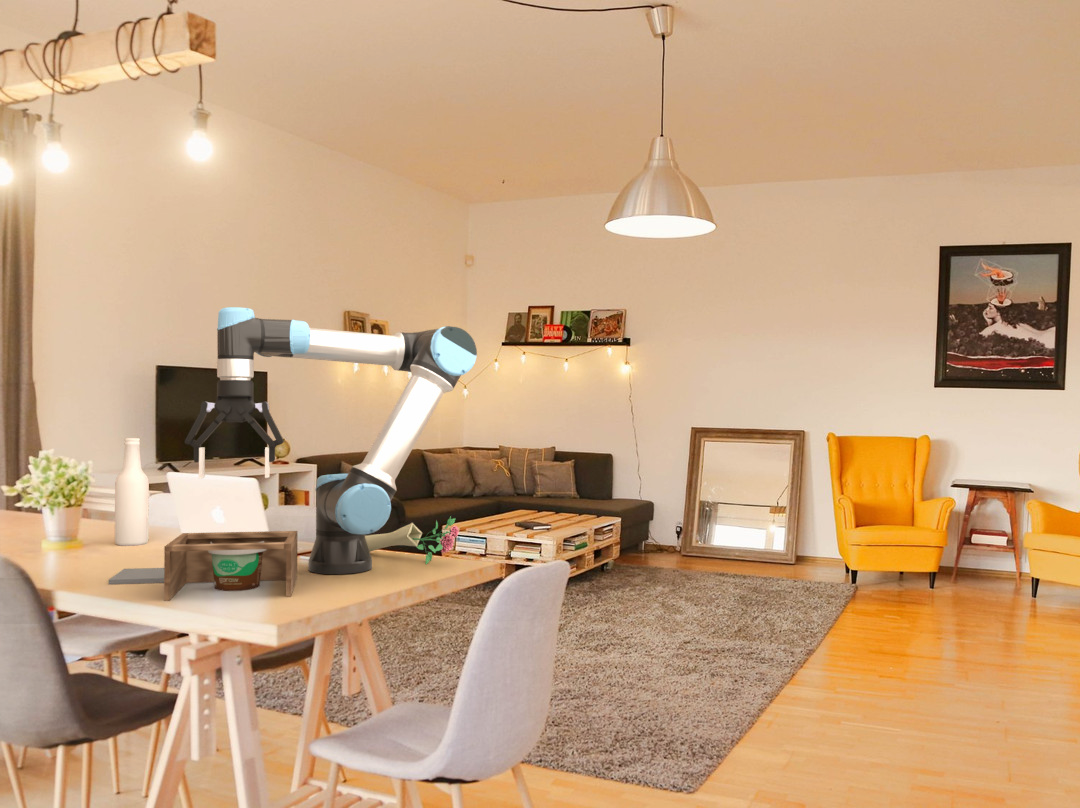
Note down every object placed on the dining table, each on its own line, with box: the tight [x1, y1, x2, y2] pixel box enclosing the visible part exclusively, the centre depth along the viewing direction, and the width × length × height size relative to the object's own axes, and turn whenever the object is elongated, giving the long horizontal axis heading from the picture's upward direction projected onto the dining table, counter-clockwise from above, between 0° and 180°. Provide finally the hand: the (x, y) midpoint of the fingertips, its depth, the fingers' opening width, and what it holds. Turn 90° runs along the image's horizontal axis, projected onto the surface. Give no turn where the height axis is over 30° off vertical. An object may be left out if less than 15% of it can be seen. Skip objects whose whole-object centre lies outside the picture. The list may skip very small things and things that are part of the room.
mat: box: [107, 567, 164, 585], centre depth 215 cm, size 14×14×1 cm
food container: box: [208, 541, 266, 592], centre depth 203 cm, size 12×6×10 cm, turn 97°
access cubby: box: [163, 530, 298, 602], centre depth 203 cm, size 25×20×11 cm
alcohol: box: [114, 437, 150, 547], centre depth 266 cm, size 9×9×30 cm
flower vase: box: [365, 515, 460, 565], centre depth 242 cm, size 12×12×35 cm
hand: (234, 477), depth 203 cm, fingers open, 13 cm apart
